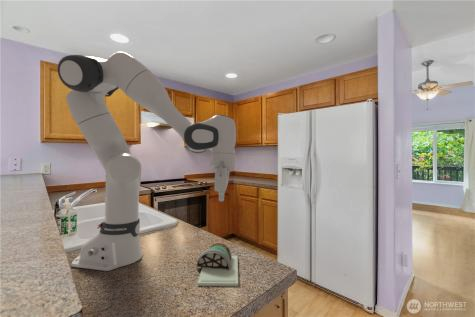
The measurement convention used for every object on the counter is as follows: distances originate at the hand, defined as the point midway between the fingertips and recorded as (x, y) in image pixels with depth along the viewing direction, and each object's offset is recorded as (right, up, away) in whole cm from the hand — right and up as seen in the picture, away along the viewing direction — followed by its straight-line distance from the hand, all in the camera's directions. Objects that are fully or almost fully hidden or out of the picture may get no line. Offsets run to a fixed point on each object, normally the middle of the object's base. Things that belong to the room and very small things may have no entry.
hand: (221, 200), depth 79 cm
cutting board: (0, -23, -3) cm, 23 cm away
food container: (-1, -19, +6) cm, 20 cm away
